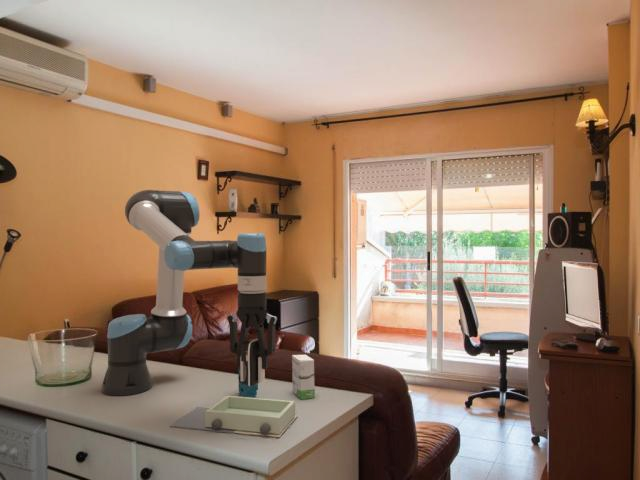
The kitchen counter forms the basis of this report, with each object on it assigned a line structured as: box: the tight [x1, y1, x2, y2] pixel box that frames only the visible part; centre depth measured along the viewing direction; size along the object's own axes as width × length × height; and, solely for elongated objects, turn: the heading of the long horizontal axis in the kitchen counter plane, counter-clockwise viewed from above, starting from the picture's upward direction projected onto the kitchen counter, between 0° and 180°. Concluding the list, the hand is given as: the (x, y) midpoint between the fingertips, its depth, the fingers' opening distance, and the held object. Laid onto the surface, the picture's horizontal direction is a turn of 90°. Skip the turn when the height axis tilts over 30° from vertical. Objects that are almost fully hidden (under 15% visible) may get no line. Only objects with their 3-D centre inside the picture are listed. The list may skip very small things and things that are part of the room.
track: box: [169, 406, 298, 439], centre depth 135 cm, size 30×15×1 cm, turn 75°
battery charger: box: [241, 338, 261, 386], centre depth 134 cm, size 7×4×11 cm, turn 156°
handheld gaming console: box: [237, 368, 259, 398], centre depth 156 cm, size 10×4×15 cm, turn 23°
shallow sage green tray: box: [205, 395, 296, 435], centre depth 134 cm, size 20×15×4 cm
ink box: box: [291, 354, 316, 400], centre depth 158 cm, size 9×5×12 cm, turn 20°
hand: (252, 380), depth 134 cm, fingers closed on battery charger, 4 cm apart
